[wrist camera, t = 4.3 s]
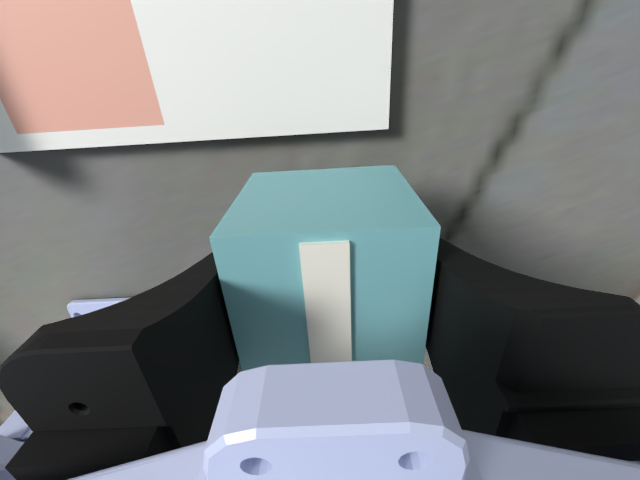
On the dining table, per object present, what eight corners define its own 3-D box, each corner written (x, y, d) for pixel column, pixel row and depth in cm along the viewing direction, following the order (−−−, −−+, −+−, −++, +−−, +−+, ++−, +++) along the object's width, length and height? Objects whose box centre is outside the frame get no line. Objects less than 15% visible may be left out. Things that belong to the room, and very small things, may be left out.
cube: (388, 282, 15) (421, 388, 10) (271, 287, 15) (245, 394, 10) (394, 165, 12) (443, 229, 7) (253, 173, 13) (207, 240, 8)
